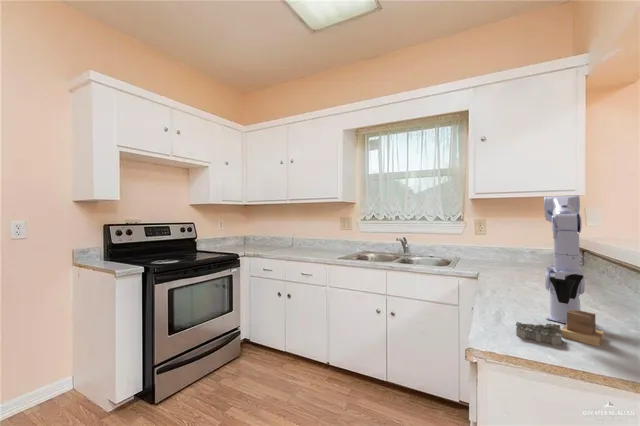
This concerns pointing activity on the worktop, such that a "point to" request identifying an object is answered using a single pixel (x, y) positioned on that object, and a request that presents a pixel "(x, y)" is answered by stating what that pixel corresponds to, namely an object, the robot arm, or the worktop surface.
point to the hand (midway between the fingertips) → (567, 300)
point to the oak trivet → (584, 336)
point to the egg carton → (540, 332)
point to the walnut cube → (581, 322)
